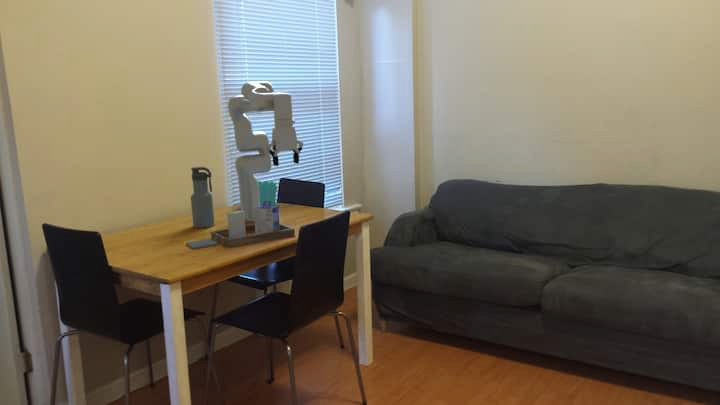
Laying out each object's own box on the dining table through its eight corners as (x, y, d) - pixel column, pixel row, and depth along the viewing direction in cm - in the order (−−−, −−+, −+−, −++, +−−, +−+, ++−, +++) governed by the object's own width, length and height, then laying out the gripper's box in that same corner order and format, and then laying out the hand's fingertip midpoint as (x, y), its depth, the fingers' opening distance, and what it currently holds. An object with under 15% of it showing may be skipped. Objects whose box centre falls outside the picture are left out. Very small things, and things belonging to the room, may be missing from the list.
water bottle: (214, 222, 288) (209, 165, 283) (216, 226, 279) (211, 167, 273) (193, 224, 285) (187, 167, 280) (193, 229, 276) (188, 169, 270)
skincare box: (240, 237, 256) (238, 210, 254) (246, 238, 253) (244, 211, 251) (228, 240, 251) (226, 212, 249) (235, 242, 248) (233, 213, 246)
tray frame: (211, 238, 256) (211, 231, 256) (275, 227, 272) (274, 221, 272) (228, 247, 240) (227, 240, 239) (294, 235, 256) (294, 228, 255)
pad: (186, 244, 247) (185, 242, 247) (209, 240, 253) (209, 238, 252) (193, 249, 239) (193, 247, 239) (217, 245, 244) (217, 243, 244)
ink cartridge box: (281, 233, 260) (278, 201, 257) (274, 236, 255) (272, 203, 252) (262, 232, 264) (259, 200, 261) (255, 235, 259) (252, 202, 256)
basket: (237, 210, 317) (235, 186, 315) (249, 203, 335) (247, 181, 332) (271, 209, 314) (270, 185, 312) (282, 203, 332) (280, 180, 329)
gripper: (296, 122, 254) (299, 161, 257) (260, 124, 244) (263, 166, 247) (306, 122, 248) (308, 163, 251) (269, 125, 238) (272, 167, 241)
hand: (286, 164), depth 249 cm, fingers open, 9 cm apart
